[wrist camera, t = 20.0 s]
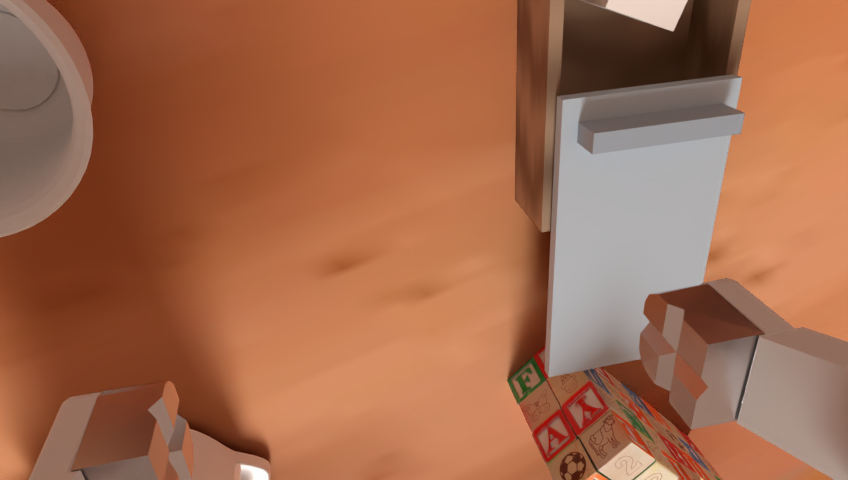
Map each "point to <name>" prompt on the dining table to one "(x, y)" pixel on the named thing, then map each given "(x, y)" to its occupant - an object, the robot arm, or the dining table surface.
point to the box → (604, 69)
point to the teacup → (41, 112)
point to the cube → (646, 10)
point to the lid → (631, 209)
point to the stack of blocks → (602, 428)
